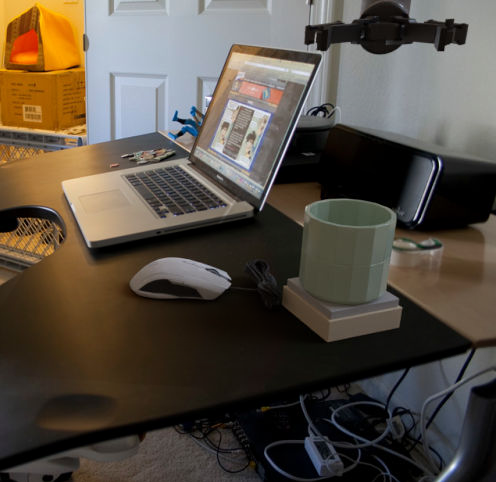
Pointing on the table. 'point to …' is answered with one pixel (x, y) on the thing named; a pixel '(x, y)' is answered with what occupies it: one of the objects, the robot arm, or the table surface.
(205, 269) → the computer mouse
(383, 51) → the robot arm
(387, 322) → the scale
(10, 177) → the table surface
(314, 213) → the pale green cup
